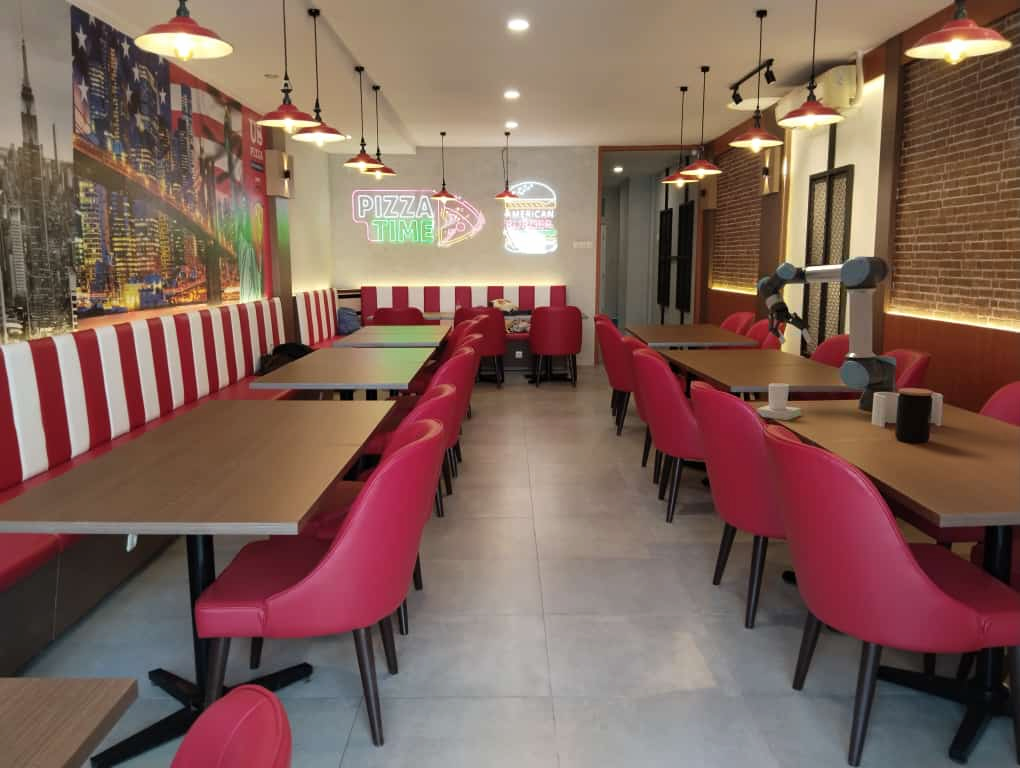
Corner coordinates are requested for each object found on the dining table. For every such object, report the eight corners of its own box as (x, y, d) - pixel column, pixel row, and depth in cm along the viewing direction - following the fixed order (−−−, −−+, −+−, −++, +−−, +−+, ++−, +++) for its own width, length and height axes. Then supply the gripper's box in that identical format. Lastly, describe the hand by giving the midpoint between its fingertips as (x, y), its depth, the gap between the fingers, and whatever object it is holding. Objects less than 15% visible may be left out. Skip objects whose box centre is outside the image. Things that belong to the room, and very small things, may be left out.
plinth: (800, 415, 308) (800, 408, 307) (787, 420, 298) (787, 413, 298) (770, 411, 317) (770, 404, 316) (756, 415, 307) (756, 408, 307)
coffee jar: (933, 444, 258) (938, 393, 255) (901, 443, 259) (904, 392, 256) (922, 437, 268) (926, 388, 265) (890, 436, 270) (894, 387, 267)
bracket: (929, 421, 294) (932, 391, 292) (944, 426, 285) (946, 395, 283) (866, 422, 294) (868, 392, 292) (878, 427, 285) (881, 396, 283)
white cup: (789, 410, 302) (790, 386, 301) (768, 410, 304) (770, 386, 302) (786, 407, 310) (787, 383, 308) (766, 406, 312) (767, 382, 310)
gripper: (796, 311, 347) (816, 346, 335) (750, 312, 340) (768, 348, 328) (804, 300, 341) (824, 335, 329) (757, 301, 334) (776, 337, 322)
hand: (796, 342), depth 329 cm, fingers open, 13 cm apart
